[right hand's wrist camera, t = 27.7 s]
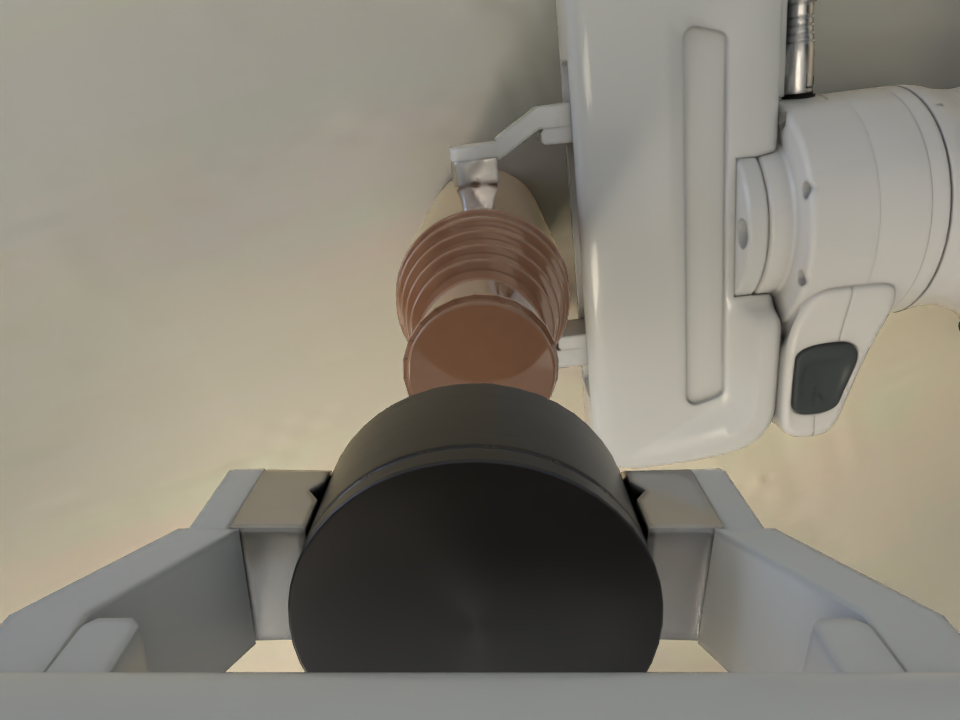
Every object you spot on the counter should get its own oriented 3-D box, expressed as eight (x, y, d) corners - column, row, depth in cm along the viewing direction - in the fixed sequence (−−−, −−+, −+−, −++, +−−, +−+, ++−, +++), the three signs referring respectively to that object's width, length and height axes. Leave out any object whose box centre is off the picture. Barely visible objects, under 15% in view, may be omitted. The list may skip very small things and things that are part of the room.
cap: (271, 541, 10) (216, 653, 8) (444, 317, 9) (433, 383, 7) (502, 678, 11) (506, 810, 9) (688, 493, 10) (743, 597, 8)
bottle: (428, 166, 31) (355, 250, 14) (544, 170, 31) (614, 258, 14) (428, 279, 33) (364, 476, 16) (537, 282, 33) (591, 483, 16)
